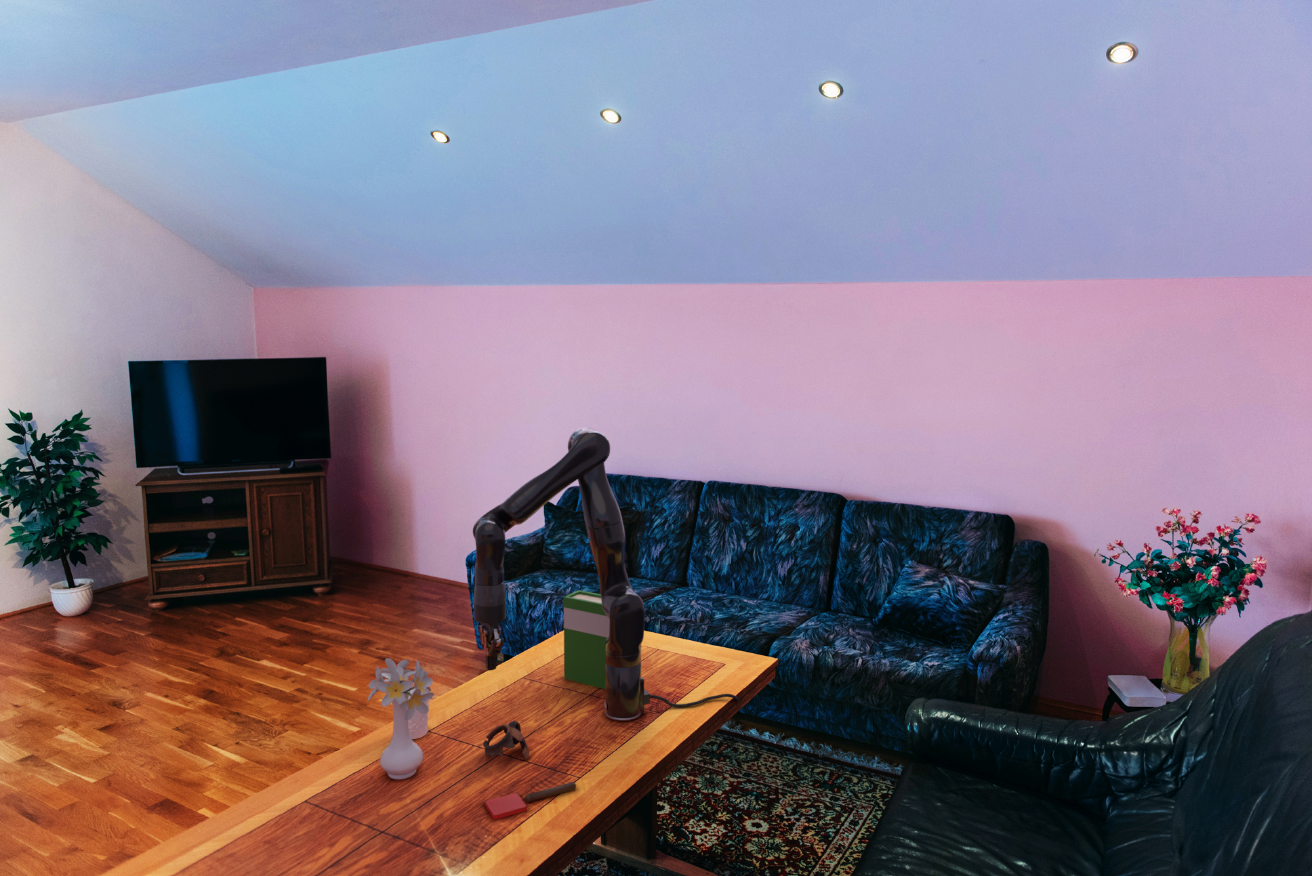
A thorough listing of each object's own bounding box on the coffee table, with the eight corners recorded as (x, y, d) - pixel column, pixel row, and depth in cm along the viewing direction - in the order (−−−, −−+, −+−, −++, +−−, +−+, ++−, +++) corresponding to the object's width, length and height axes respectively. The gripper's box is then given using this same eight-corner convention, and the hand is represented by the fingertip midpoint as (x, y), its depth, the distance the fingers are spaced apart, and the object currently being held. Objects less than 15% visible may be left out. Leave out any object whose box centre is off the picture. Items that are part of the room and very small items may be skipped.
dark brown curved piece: (527, 768, 190) (509, 742, 187) (492, 781, 192) (473, 756, 189) (538, 731, 201) (520, 706, 198) (505, 744, 203) (487, 719, 201)
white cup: (436, 728, 208) (435, 690, 206) (417, 743, 200) (416, 703, 199) (409, 723, 210) (408, 685, 209) (389, 737, 203) (388, 698, 201)
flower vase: (403, 800, 176) (400, 686, 173) (356, 770, 188) (352, 663, 184) (454, 775, 186) (452, 667, 183) (406, 748, 197) (403, 647, 194)
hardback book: (630, 682, 236) (631, 600, 233) (616, 692, 229) (616, 607, 226) (579, 669, 244) (578, 590, 241) (564, 678, 238) (563, 597, 235)
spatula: (570, 782, 183) (570, 775, 183) (581, 795, 178) (581, 788, 178) (484, 805, 174) (484, 798, 174) (493, 820, 169) (493, 812, 169)
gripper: (514, 605, 197) (515, 675, 200) (496, 590, 209) (497, 657, 211) (483, 610, 194) (484, 682, 196) (466, 594, 205) (468, 662, 207)
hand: (491, 668), depth 203 cm, fingers closed
